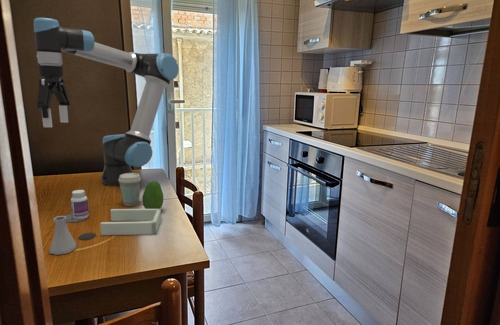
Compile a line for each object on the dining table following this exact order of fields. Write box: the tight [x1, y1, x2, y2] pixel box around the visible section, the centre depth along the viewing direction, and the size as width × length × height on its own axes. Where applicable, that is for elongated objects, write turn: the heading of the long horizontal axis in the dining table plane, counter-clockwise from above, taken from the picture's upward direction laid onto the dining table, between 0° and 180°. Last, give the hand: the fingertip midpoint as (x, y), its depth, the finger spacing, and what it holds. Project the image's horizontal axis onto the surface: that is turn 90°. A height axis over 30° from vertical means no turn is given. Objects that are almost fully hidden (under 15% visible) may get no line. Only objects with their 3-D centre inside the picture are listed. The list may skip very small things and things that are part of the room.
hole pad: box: [78, 232, 97, 241], centre depth 105 cm, size 5×5×1 cm
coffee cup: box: [118, 172, 142, 207], centre depth 133 cm, size 9×8×12 cm
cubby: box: [100, 208, 162, 236], centre depth 113 cm, size 12×17×4 cm
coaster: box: [65, 213, 89, 224], centre depth 119 cm, size 8×8×1 cm
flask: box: [48, 215, 78, 256], centre depth 96 cm, size 7×7×10 cm
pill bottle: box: [70, 189, 90, 219], centre depth 118 cm, size 5×5×10 cm
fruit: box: [141, 180, 164, 209], centre depth 126 cm, size 8×8×12 cm
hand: (56, 124), depth 123 cm, fingers open, 13 cm apart
